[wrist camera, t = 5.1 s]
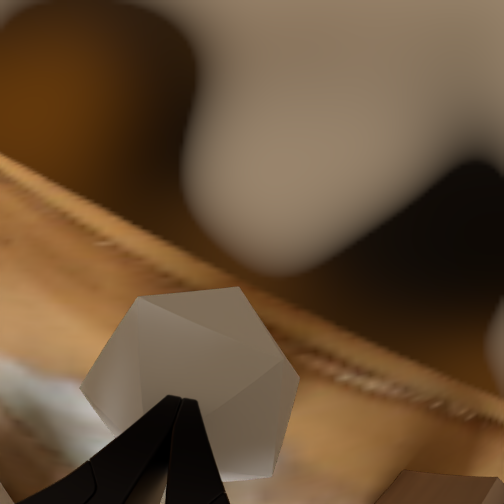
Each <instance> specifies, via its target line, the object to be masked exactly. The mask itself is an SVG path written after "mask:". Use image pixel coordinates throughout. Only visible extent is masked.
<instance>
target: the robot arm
mask: <svg viewBox="0 0 504 504" xmlns="http://www.w3.org/2000/svg"><path fill="white" fill-rule="evenodd" d="M89 460H90V461H88V460H87V461H86V462H85V463H83V464H82V465H81V466H80V467H78V468H77V469H75V470H74V471H73V472H71V473H70V474H68V475H67V476H66V477H64V478H62V479H61V480H59V481H57V482H56V483H54V484H52V485H50V486H49V487H47V488H45V489H43V490H41V491H39V492H37V493H35V494H33V495H31V496H29V497H27V498H26V499H24V500H21V501H19V502H17V503H15V504H160V501H161V498H162V496H163V493H164V490H165V487H166V499H165V504H230V502H229V499H228V496H227V494H226V493H225V492H226V491H225V488H224V485H223V482H222V479H221V476H220V473H219V470H218V467H217V464H216V461H215V458H214V455H213V452H212V448H211V445H210V442H209V439H208V435H207V432H206V428H205V425H204V422H203V418H202V414H201V411H200V407H199V404H198V401H197V400H196V399H190V398H183V399H182V398H181V397H180V396H175V395H166V396H165V397H164V398H163V399H162V400H161V401H159V402H158V403H157V404H156V405H155V406H154V407H152V408H151V409H150V410H149V411H148V412H146V413H145V414H144V415H143V416H142V417H140V418H139V419H138V420H137V421H136V422H135V423H133V424H132V425H131V426H130V427H128V428H127V429H126V430H125V431H124V432H122V433H121V434H120V435H119V436H118V437H116V438H115V439H114V440H113V441H111V442H110V443H109V444H108V445H106V446H105V447H104V448H103V449H101V450H100V451H99V452H98V453H96V454H95V455H94V456H93V457H91V458H90V459H89ZM166 484H167V486H166Z"/></svg>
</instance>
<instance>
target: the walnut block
mask: <svg viewBox="0 0 504 504" xmlns="http://www.w3.org/2000/svg"><path fill="white" fill-rule="evenodd" d="M375 504H504V483H503V482H502V481H501V480H500V479H499V478H498V477H475V476H456V475H444V474H434V473H425V472H417V471H410V470H403V471H402V472H401V473H400V475H399V476H398V477H397V478H396V479H395V481H394V482H393V483H392V484H391V485H390V487H389V488H388V489H387V490H386V491H385V492H384V494H383V495H382V496H381V497H380V498H379V499H378V500H377V501H376V503H375Z"/></svg>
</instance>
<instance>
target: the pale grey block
mask: <svg viewBox="0 0 504 504" xmlns="http://www.w3.org/2000/svg"><path fill="white" fill-rule="evenodd" d="M0 504H14V502H13V501H12V499H11V498H10V496H9V495H8V493H7V492H6V490H5V489H4V487H3V486H2V484H1V482H0Z"/></svg>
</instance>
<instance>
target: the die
mask: <svg viewBox="0 0 504 504" xmlns="http://www.w3.org/2000/svg"><path fill="white" fill-rule="evenodd" d="M299 380H300V377H299V375H298V374H297V373H296V371H295V370H294V368H293V367H292V365H291V364H290V362H289V361H288V359H287V358H286V356H285V355H284V353H283V352H282V350H281V349H280V348H279V346H278V345H277V343H276V342H275V340H274V339H273V337H272V336H271V334H270V333H269V331H268V330H267V328H266V327H265V325H264V324H263V322H262V321H261V319H260V318H259V316H258V315H257V313H256V312H255V310H254V309H253V307H252V306H251V304H250V303H249V301H248V299H247V298H246V296H245V295H244V293H243V292H242V290H241V289H240V287H239V286H238V287H229V288H220V289H211V290H201V291H192V292H182V293H171V294H161V295H150V296H138V297H137V299H136V300H135V302H134V303H133V304H132V306H131V307H130V309H129V310H128V312H127V313H126V315H125V316H124V318H123V319H122V321H121V322H120V324H119V325H118V327H117V328H116V330H115V332H114V333H113V335H112V336H111V338H110V339H109V341H108V342H107V344H106V345H105V347H104V349H103V350H102V352H101V353H100V355H99V356H98V358H97V360H96V361H95V363H94V364H93V366H92V368H91V369H90V371H89V373H88V374H87V376H86V377H85V379H84V381H83V382H82V384H81V386H80V387H79V388H80V390H81V391H82V393H83V394H84V396H85V397H86V399H87V400H88V401H89V403H90V404H91V406H92V407H93V409H94V410H95V411H96V413H97V414H98V416H99V417H100V418H101V420H102V421H103V422H104V424H105V425H106V426H107V428H108V429H109V430H110V432H111V433H112V434H113V435H114V437H115V438H116V437H118V436H119V435H120V434H121V433H122V432H124V431H125V430H126V429H127V428H128V427H130V426H131V425H132V424H133V423H135V422H136V421H137V420H138V419H139V418H140V417H142V416H143V415H144V414H145V413H146V412H148V411H149V410H150V409H151V408H152V407H154V406H155V405H156V404H157V403H158V402H159V401H161V400H162V399H163V398H164V397H165V396H166V395H175V396H180V397H181V398H182V399H183V398H190V399H196V400H197V401H198V404H199V407H200V411H201V414H202V418H203V422H204V425H205V428H206V432H207V435H208V439H209V442H210V445H211V448H212V452H213V455H214V458H215V461H216V464H217V467H218V470H219V473H220V476H221V479H222V482H227V481H240V480H251V479H260V478H268V477H272V475H273V472H274V469H275V466H276V462H277V459H278V456H279V453H280V449H281V446H282V443H283V439H284V436H285V432H286V429H287V425H288V422H289V418H290V415H291V411H292V407H293V403H294V400H295V396H296V392H297V388H298V384H299Z"/></svg>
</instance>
